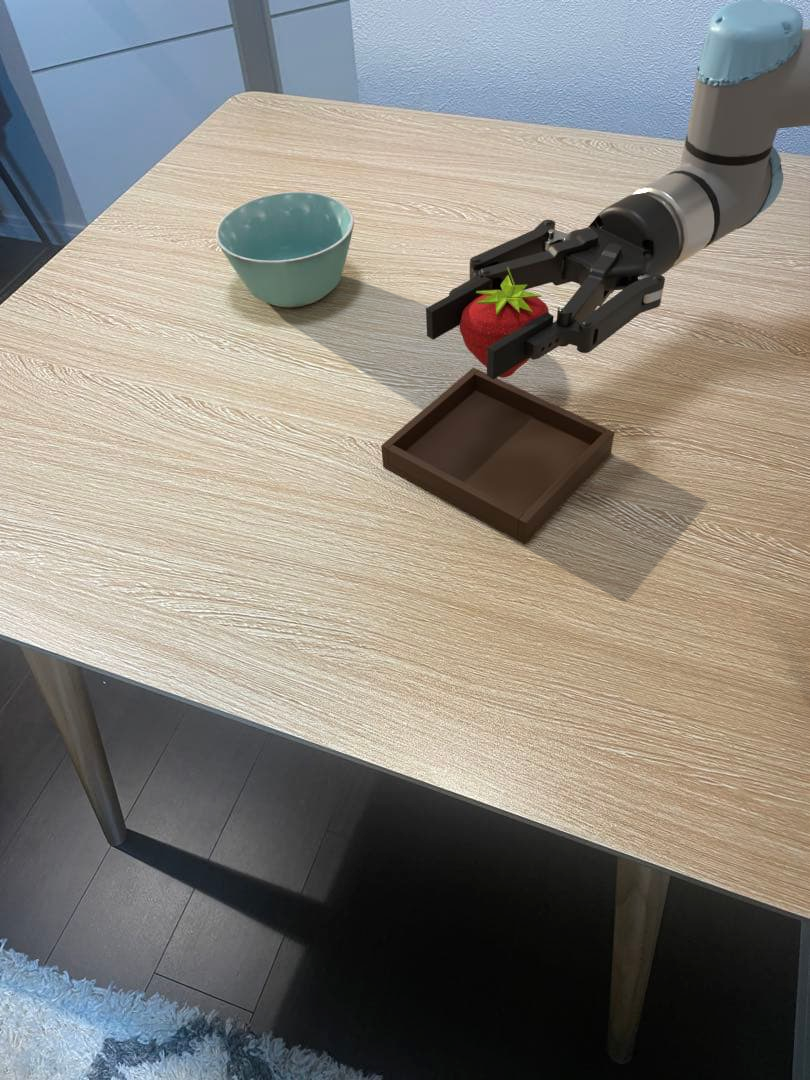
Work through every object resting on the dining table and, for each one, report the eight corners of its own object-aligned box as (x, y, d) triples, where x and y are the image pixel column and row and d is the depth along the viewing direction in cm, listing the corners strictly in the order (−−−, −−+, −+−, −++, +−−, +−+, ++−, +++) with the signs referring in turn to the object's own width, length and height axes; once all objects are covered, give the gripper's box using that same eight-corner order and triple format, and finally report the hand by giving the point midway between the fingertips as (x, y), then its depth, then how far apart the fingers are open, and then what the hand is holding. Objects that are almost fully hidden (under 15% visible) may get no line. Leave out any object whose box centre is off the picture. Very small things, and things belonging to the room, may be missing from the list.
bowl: (204, 287, 111) (189, 224, 105) (307, 237, 117) (299, 176, 111) (279, 343, 103) (267, 278, 96) (386, 286, 109) (381, 223, 103)
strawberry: (453, 360, 81) (452, 259, 73) (536, 348, 81) (544, 247, 74) (467, 403, 77) (467, 301, 69) (554, 390, 77) (564, 288, 70)
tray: (611, 453, 88) (614, 431, 86) (524, 544, 81) (526, 523, 79) (473, 388, 96) (473, 367, 94) (382, 466, 89) (380, 445, 86)
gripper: (730, 314, 79) (545, 438, 70) (565, 231, 90) (384, 330, 80) (750, 236, 74) (552, 360, 65) (572, 156, 84) (378, 254, 75)
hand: (459, 343), depth 72 cm, fingers closed on strawberry, 6 cm apart
